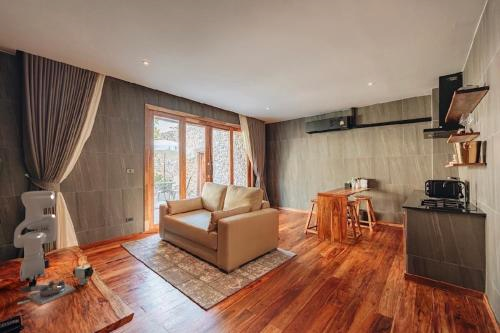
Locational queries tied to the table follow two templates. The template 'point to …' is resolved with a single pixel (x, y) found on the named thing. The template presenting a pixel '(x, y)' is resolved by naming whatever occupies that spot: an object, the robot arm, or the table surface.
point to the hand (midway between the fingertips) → (32, 286)
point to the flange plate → (45, 299)
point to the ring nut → (45, 288)
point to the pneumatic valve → (83, 273)
